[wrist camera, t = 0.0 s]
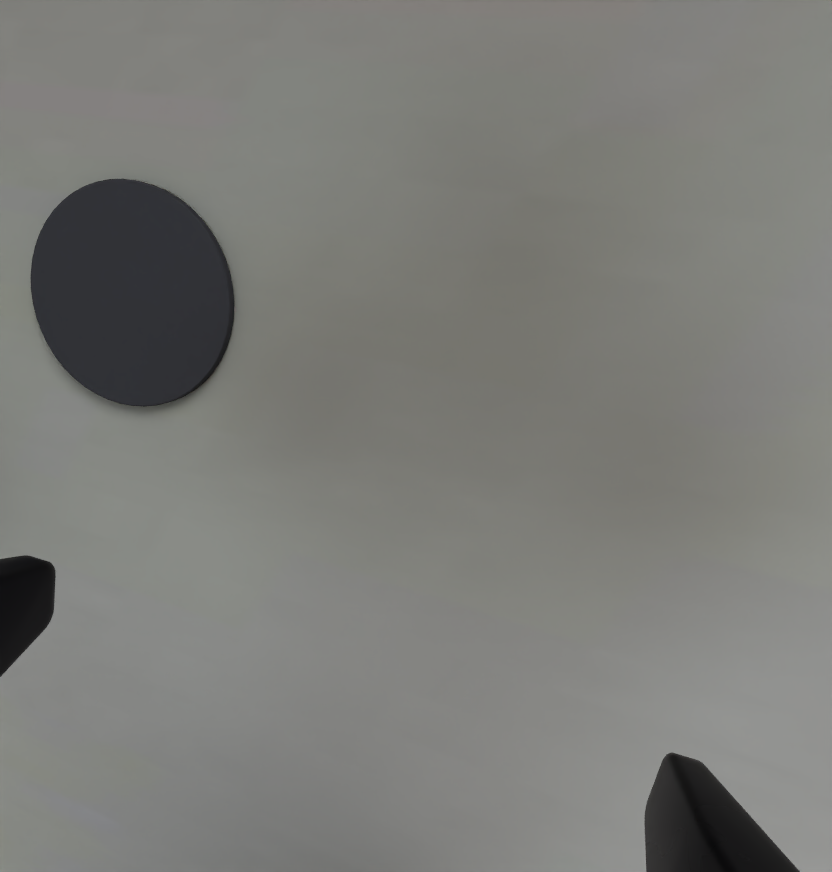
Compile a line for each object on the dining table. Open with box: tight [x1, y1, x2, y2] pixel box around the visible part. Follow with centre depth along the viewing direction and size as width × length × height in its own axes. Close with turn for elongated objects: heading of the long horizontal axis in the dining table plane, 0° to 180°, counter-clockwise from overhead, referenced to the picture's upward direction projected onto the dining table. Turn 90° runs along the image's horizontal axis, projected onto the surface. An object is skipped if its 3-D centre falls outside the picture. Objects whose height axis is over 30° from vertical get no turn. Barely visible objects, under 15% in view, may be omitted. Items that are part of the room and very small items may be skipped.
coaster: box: [31, 179, 234, 406], centre depth 24 cm, size 8×8×1 cm
